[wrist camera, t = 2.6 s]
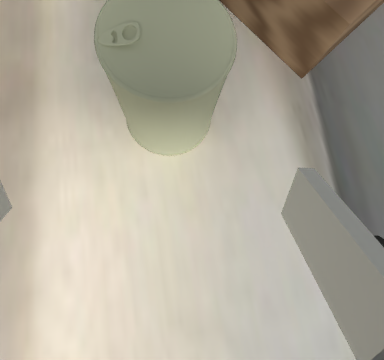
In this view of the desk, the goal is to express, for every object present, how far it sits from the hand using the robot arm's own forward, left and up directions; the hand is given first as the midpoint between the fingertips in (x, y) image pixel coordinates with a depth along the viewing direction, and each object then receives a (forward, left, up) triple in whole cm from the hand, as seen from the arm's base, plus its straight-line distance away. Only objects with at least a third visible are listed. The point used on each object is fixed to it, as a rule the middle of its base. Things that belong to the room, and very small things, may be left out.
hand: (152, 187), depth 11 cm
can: (+7, -7, -14) cm, 18 cm away
